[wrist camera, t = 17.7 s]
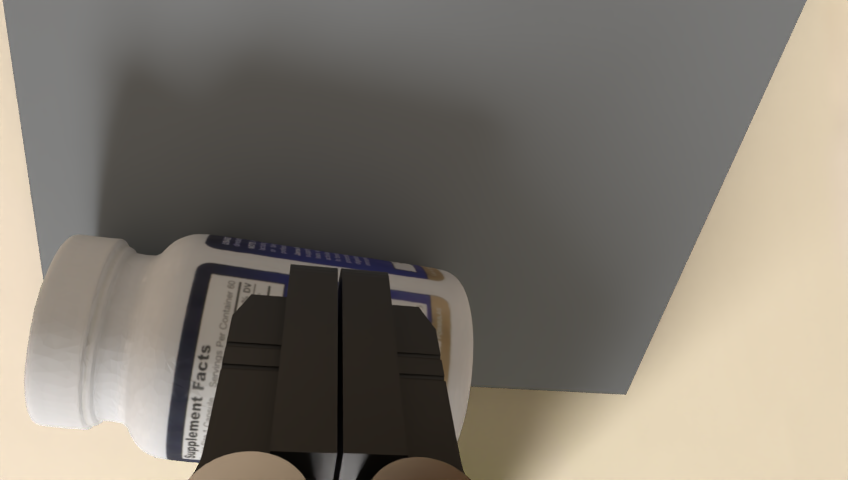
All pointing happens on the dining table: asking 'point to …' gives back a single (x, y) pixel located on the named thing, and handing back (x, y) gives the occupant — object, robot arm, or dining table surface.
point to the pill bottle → (187, 331)
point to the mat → (410, 145)
